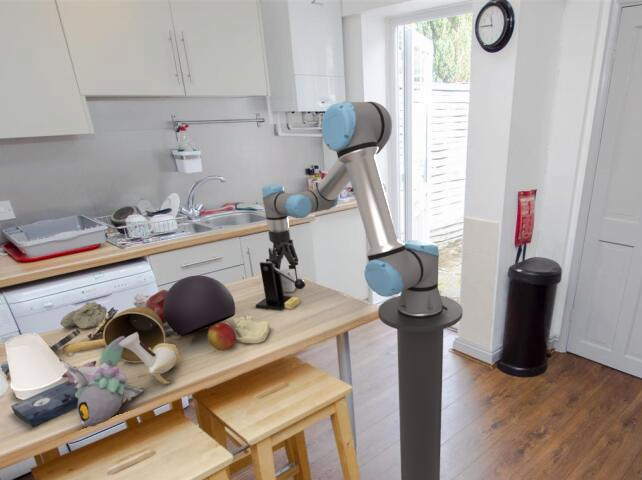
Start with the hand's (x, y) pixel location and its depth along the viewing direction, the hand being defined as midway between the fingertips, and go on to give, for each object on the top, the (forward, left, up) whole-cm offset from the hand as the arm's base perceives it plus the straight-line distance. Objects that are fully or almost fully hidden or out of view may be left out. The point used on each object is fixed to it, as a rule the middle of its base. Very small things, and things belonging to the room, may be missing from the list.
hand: (287, 286), depth 175 cm
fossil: (+48, +40, +5) cm, 63 cm away
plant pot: (+22, +47, +5) cm, 53 cm away
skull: (+34, +29, +4) cm, 45 cm away
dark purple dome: (+3, +43, +3) cm, 43 cm away
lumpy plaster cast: (-8, +39, -2) cm, 40 cm away
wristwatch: (+43, +78, 0) cm, 89 cm away
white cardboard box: (0, 0, -1) cm, 1 cm away
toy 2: (+10, +77, +5) cm, 78 cm away
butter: (-10, +14, -1) cm, 17 cm away
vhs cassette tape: (+21, +80, 0) cm, 82 cm away
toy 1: (+44, +63, 0) cm, 76 cm away
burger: (+36, +51, +4) cm, 62 cm away
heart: (+31, +36, +1) cm, 47 cm away
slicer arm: (-8, +14, +8) cm, 18 cm away
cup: (+27, +78, +13) cm, 83 cm away
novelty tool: (+17, +40, -1) cm, 44 cm away
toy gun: (+5, +65, +12) cm, 66 cm away
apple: (-4, +45, -1) cm, 45 cm away
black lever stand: (-3, +14, -1) cm, 14 cm away
